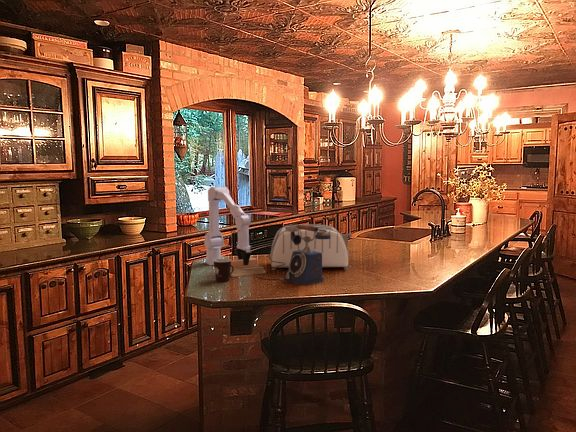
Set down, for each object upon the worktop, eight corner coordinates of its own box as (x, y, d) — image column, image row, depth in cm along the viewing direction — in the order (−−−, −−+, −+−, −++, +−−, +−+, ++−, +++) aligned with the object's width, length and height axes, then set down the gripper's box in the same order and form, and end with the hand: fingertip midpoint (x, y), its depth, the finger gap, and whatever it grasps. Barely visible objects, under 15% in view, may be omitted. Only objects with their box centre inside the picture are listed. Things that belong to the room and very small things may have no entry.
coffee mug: (212, 279, 233) (211, 259, 232) (229, 277, 236) (229, 257, 235) (217, 285, 222) (216, 264, 221) (235, 283, 225) (235, 262, 224)
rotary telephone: (248, 275, 243) (247, 222, 239) (282, 269, 256) (282, 219, 253) (299, 293, 211) (299, 232, 207) (335, 285, 224) (336, 227, 221)
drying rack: (222, 269, 253) (221, 263, 253) (253, 266, 261) (253, 260, 261) (232, 276, 238) (232, 270, 238) (265, 273, 246) (265, 267, 246)
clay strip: (230, 270, 248) (230, 260, 247) (255, 267, 254) (255, 258, 253) (231, 271, 245) (231, 261, 245) (257, 268, 252) (257, 259, 251)
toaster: (355, 270, 253) (356, 228, 250) (270, 271, 251) (270, 229, 248) (348, 261, 274) (348, 223, 272) (270, 262, 272) (270, 223, 269)
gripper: (255, 239, 243) (255, 265, 244) (245, 235, 256) (245, 260, 257) (242, 240, 240) (242, 267, 241) (232, 236, 253) (233, 261, 254)
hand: (243, 263), depth 249 cm, fingers open, 7 cm apart
